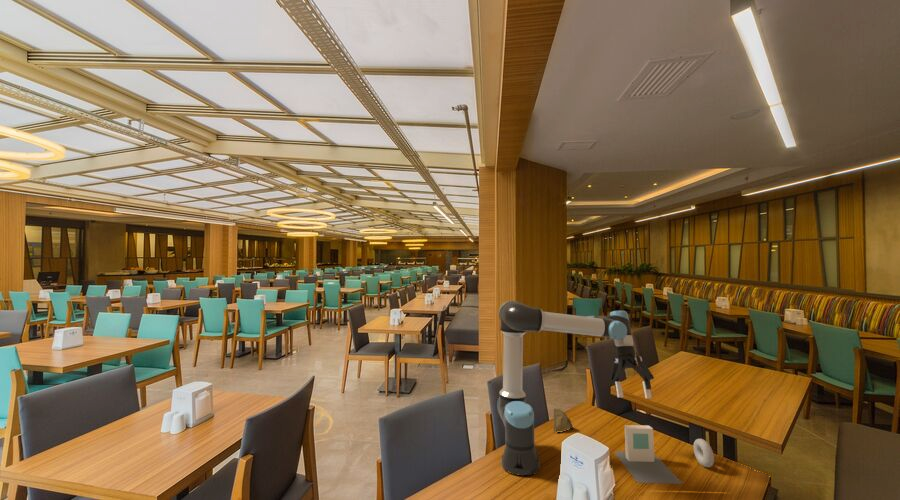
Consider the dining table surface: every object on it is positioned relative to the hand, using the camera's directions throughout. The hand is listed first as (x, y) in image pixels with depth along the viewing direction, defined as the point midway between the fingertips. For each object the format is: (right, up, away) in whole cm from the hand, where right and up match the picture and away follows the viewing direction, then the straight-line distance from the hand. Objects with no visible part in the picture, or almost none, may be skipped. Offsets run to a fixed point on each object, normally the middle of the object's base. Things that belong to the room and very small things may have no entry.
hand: (634, 397), depth 150 cm
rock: (-22, -26, +24) cm, 42 cm away
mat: (-1, -24, -10) cm, 26 cm away
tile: (0, -23, -5) cm, 24 cm away
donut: (+23, -23, -9) cm, 34 cm away
